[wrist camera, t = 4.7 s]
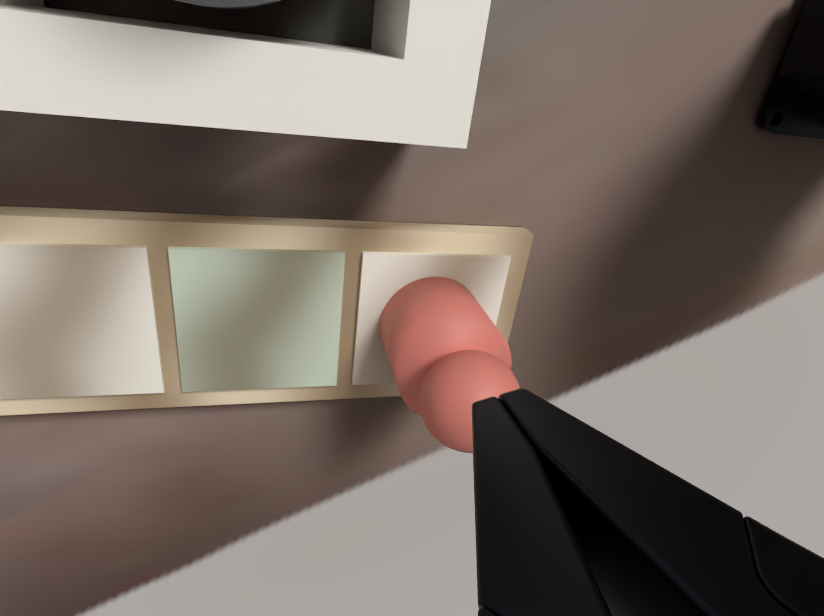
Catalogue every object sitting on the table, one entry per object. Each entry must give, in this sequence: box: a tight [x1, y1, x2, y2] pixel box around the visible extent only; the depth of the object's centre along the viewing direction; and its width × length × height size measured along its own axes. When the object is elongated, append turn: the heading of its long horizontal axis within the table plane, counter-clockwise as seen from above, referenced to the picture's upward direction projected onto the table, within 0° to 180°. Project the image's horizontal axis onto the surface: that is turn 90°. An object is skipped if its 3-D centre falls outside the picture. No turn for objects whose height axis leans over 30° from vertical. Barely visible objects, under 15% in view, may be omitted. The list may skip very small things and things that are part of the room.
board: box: [0, 206, 534, 415], centre depth 17 cm, size 25×7×1 cm, turn 83°
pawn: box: [379, 277, 520, 453], centre depth 17 cm, size 4×4×6 cm
